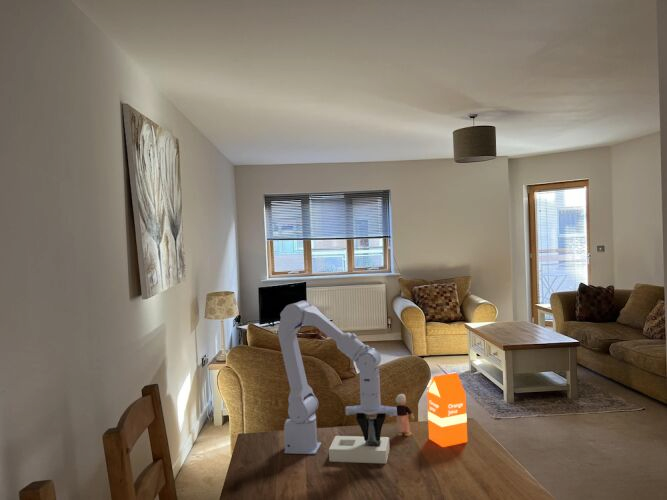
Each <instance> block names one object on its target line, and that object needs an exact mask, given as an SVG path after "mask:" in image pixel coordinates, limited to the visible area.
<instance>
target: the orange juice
mask: <svg viewBox="0 0 667 500" xmlns="http://www.w3.org/2000/svg"><path fill="white" fill-rule="evenodd" d="M426 396H427V397H426V398H427V420H428V421H427V422H428V439H429V440H430V441H432V442H434V443H435V444H437V445H439V447H442V448H447V447H451V446H455V445H459V444H464V443H468V419H467V416H468V415H467V400H466V399H467V395H466V392H465V388H464V387H463V384H462V381H461V379H460V376H459V374H458V372H453V373H448V374H441V375H440V374H439V375H435V376H432V378H431V382H430V383H429V386H428V389H427V391H426Z"/></svg>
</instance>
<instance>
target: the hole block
mask: <svg viewBox="0 0 667 500" xmlns="http://www.w3.org/2000/svg"><path fill="white" fill-rule="evenodd" d="M389 453H390V437H388V436H380V441H378V447H372V446H367V441H365V440H364V435H363V436H355V435H354V436H352V435H335V437H334V438H333V440H332V442H331V444H330V446H329V448H328V457H329V462H334V463H337V462H338V463H362V464H365V463H366V464H387V462H388V458H389Z"/></svg>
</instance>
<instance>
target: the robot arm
mask: <svg viewBox="0 0 667 500" xmlns="http://www.w3.org/2000/svg"><path fill="white" fill-rule="evenodd" d="M279 315H280V316H279V317H280V320H279V324H278V328H277V337H278V341H279V346H280V349H281V354H282V357H283V358H282V359H283V362H284V366H285V367H284V368H285V372H286V376H287V380H288V384H289V389H290V390H289V394H288V398H287V401H288V408H287V414H288V417H289V418H287V419H286V420H285V422H284V426H283V436H284V438H283V439H284V451H283V452H284V454H295V455H296V454H298V455H302V454H303V455H315V454H317V452H318V450H319V448H320V447H321V445H322V442H319V441H318V433H317V432H318V431H317V430H318V429H317V415H316V412H317V410H318V409H319V399H318V398H317V397H316V396H315V393H314V390H313V388H312V387H311V386H310V385H309V384H308V380H307V379H308V378H307V375H306V371H305V365H304V363H303V362H304V361H303V358H302V353H301V350H300V349H301V348H300V345H299V340H298V336H297V334H298V332H299V331H300V329H301V327H302V326H311V327H312V326H313V327H315V328H317V330H319V331H321V332H322V333H323V334H325V335H326V336H328V337H329V338H330V339H332V340H333V341H334V342H335V343H336V348H337V349H338V350H339V351H340V352H342V354H344V355H345V356H346V357H348V358H349V359H350V360H352V362H354V363H355V366H356V368H357V370H358V372H359V393H360V394H359V397H360V405H350V406H348V405H347V406H346V407H345V416H350V415H356V417H355V419H356V420H355V421H356V422H357V424H358V425H359V427H360V429H361V433H362V435H363V437H364V440H365V441H367V426H366V418H368V416H369V415H370V416H371V415H375V416H376V417H375V418H376V423H377V441H380V437H382V429H383V425H384V423H385V421H386V420H385V419H386V417H387V416H389V415H393V417H394V416H395V417H397V407H395V406H389V405H383V404H382V402H381V401H382V400H381V399H382V398H381V381H380V380H381V379H380V378H381V377H380V367H379V366H380V364H381V360H382V358H381V354H380V353H379V351H378V350H377V349H376V348H375V347H370V346H369V345H368V344H365V343H364V342H362V341H361V340H360V339H359V338H357V337H358V336H357V335H356V333H351V332H348V331H347V332H344V331H342V330H341V329H340V328H339V327H338V326H337V325H335V324H334V323H333V322H332V321H331V320H330V319H329V318H328V317H326V316H325V314H324V313H322V312H321V311H320V310H319V308H317V306H315V305H312V303H311V302H309V301H307V300H300V301H298V302H294V303H290V304H287V305H285V307H284V308H283V310H282V311H281V312H280V313H279Z"/></svg>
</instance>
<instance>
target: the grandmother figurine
mask: <svg viewBox="0 0 667 500" xmlns="http://www.w3.org/2000/svg"><path fill="white" fill-rule="evenodd" d="M406 401H407V397H406V395H405V394H404V393H400V394H398V395H397V396H396V398H395V402H396V403H397V404H398V405H396V406H394V407H397V415H396V430H397V436H398V437H400V436H403V435H404V436H405V437H406V436H407V437H409V436H411V435H412V432H411V431H410V422H409V421H410V420H409V417H410V419H411V420H414V419H415V416H414V414H413V411H412V409H410V407H409V406H406V405H405V404H406ZM388 416H389V417H390V418H393V417H394V416H393V415H388Z"/></svg>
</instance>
